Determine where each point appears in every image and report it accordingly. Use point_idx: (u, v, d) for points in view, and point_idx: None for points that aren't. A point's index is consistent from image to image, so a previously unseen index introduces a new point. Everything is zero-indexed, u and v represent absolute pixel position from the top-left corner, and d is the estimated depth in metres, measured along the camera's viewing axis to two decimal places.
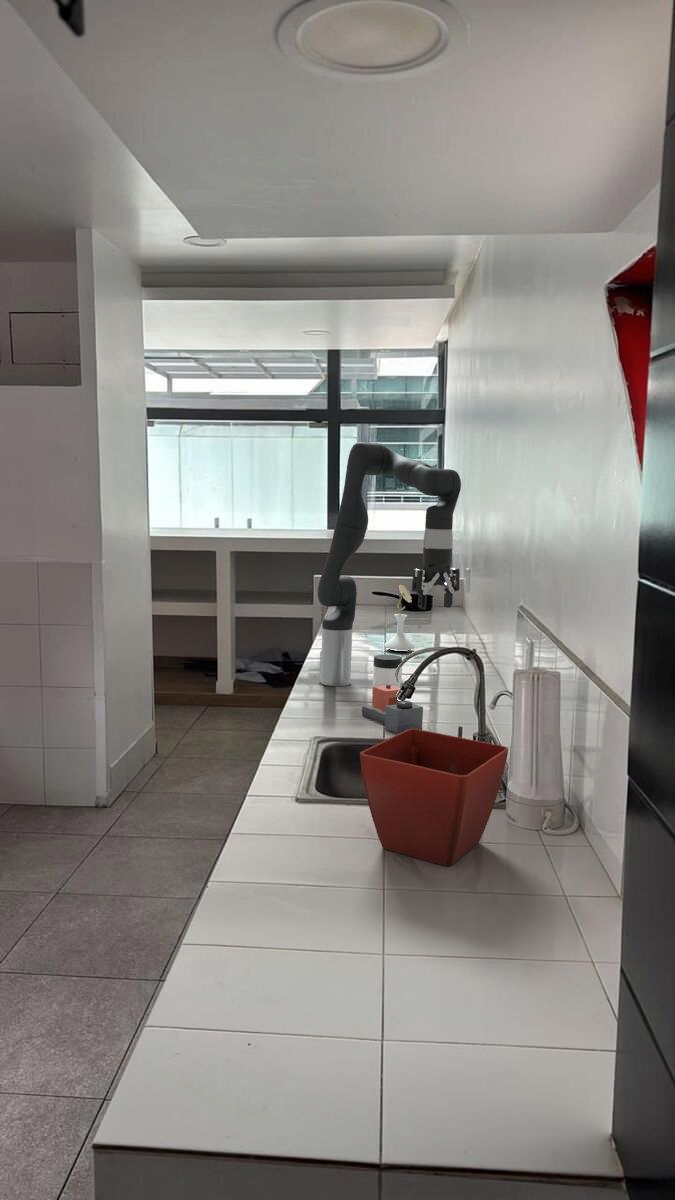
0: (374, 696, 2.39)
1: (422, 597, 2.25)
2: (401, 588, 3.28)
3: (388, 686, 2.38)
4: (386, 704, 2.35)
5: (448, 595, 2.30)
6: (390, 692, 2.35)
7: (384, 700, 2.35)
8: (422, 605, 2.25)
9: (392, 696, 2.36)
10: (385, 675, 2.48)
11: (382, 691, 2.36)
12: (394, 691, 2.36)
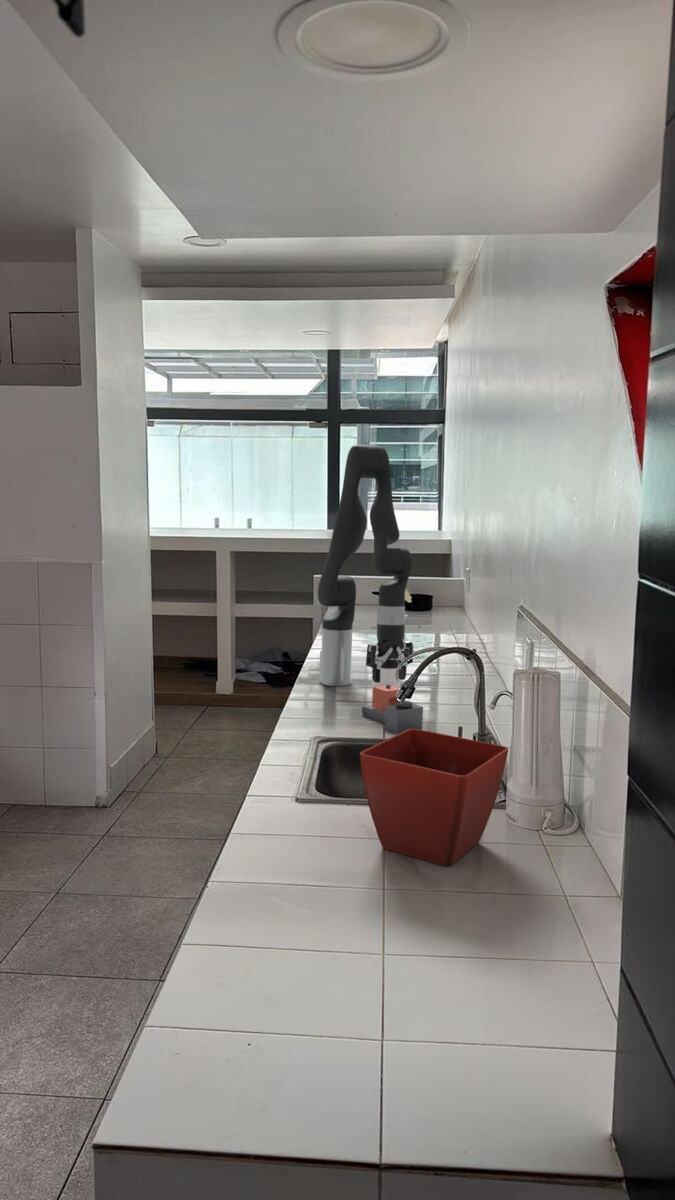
0: (374, 696, 2.39)
1: (376, 671, 2.34)
2: None
3: (388, 686, 2.38)
4: (386, 704, 2.35)
5: (402, 667, 2.39)
6: (390, 692, 2.35)
7: (384, 700, 2.35)
8: (376, 679, 2.35)
9: (392, 696, 2.36)
10: (385, 675, 2.48)
11: (382, 691, 2.36)
12: (394, 691, 2.36)
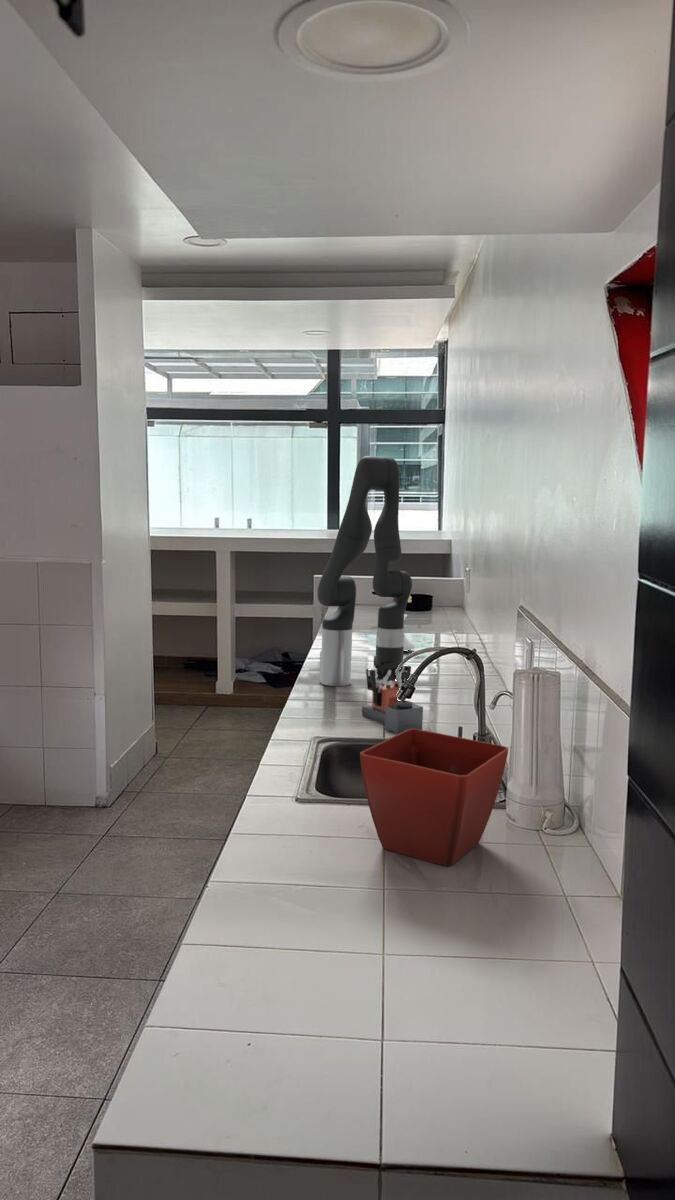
0: None
1: (377, 695, 2.36)
2: None
3: (388, 686, 2.38)
4: (386, 704, 2.35)
5: None
6: (390, 692, 2.35)
7: (384, 700, 2.35)
8: (377, 702, 2.36)
9: (392, 696, 2.36)
10: None
11: (382, 691, 2.36)
12: (394, 691, 2.36)
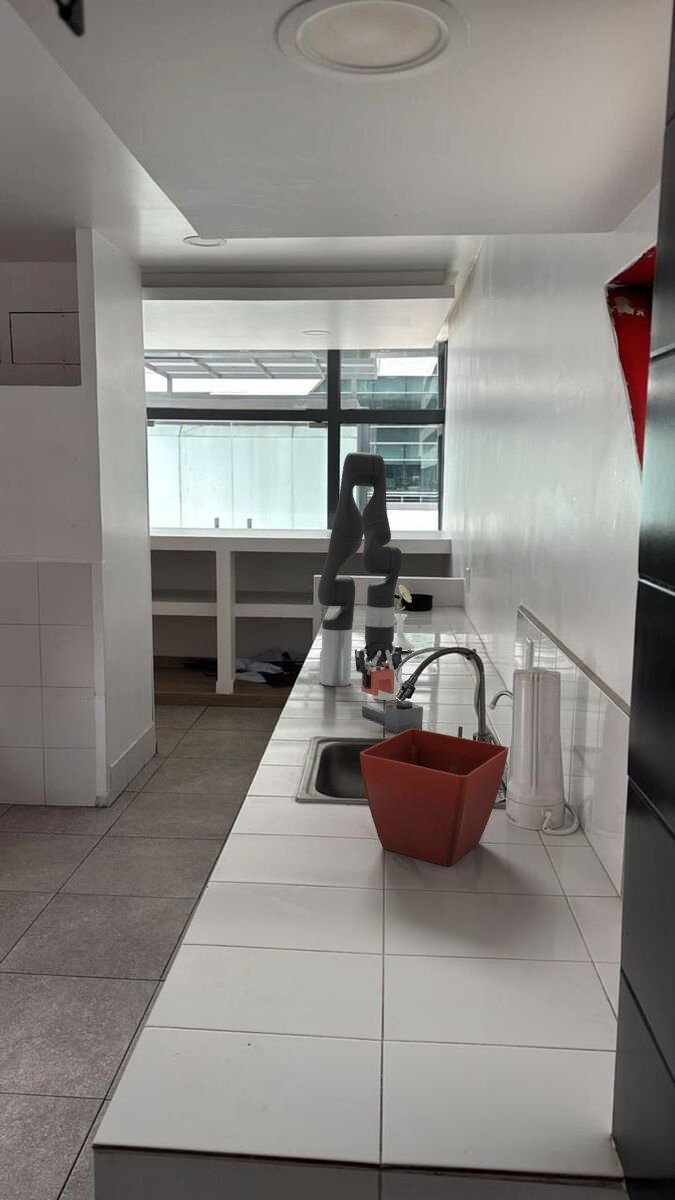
0: None
1: (366, 677, 2.24)
2: (401, 588, 3.28)
3: (378, 668, 2.26)
4: (376, 686, 2.23)
5: None
6: (380, 674, 2.24)
7: (374, 682, 2.23)
8: (366, 685, 2.25)
9: (382, 678, 2.24)
10: None
11: (372, 673, 2.24)
12: (384, 673, 2.24)
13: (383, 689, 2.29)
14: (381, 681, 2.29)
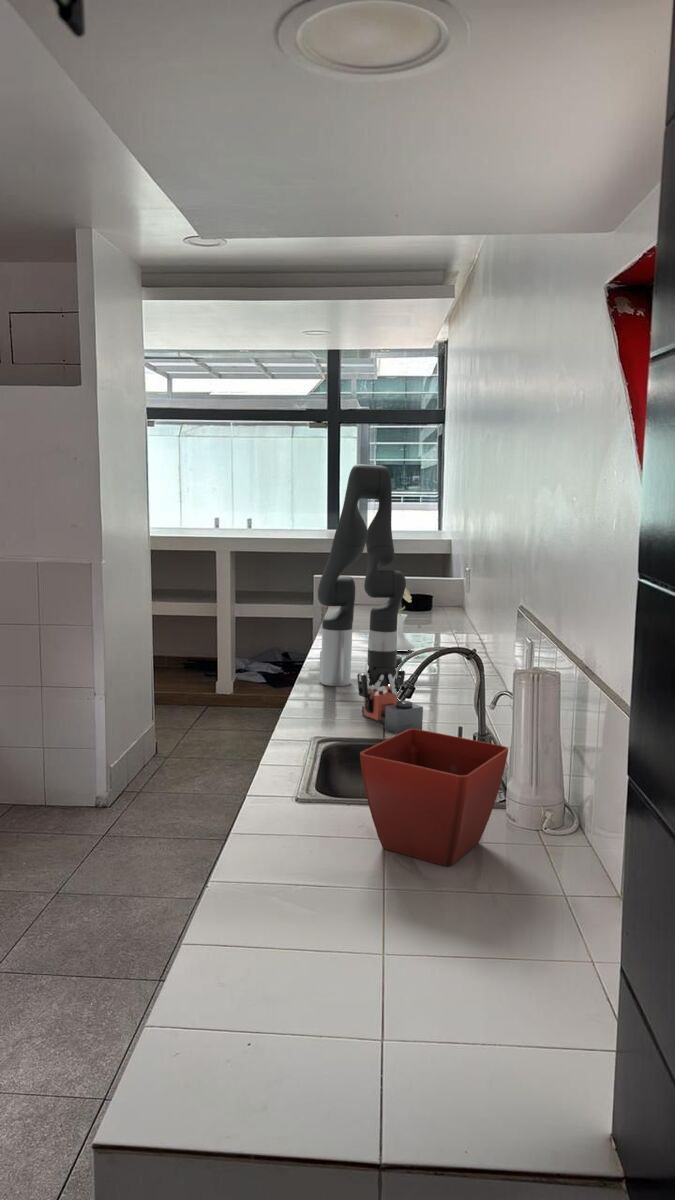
0: None
1: (369, 701, 2.24)
2: None
3: (381, 692, 2.26)
4: (379, 711, 2.23)
5: None
6: (383, 698, 2.23)
7: (377, 706, 2.23)
8: (369, 709, 2.24)
9: (385, 702, 2.23)
10: None
11: (374, 697, 2.23)
12: (387, 697, 2.24)
13: None
14: (384, 705, 2.29)
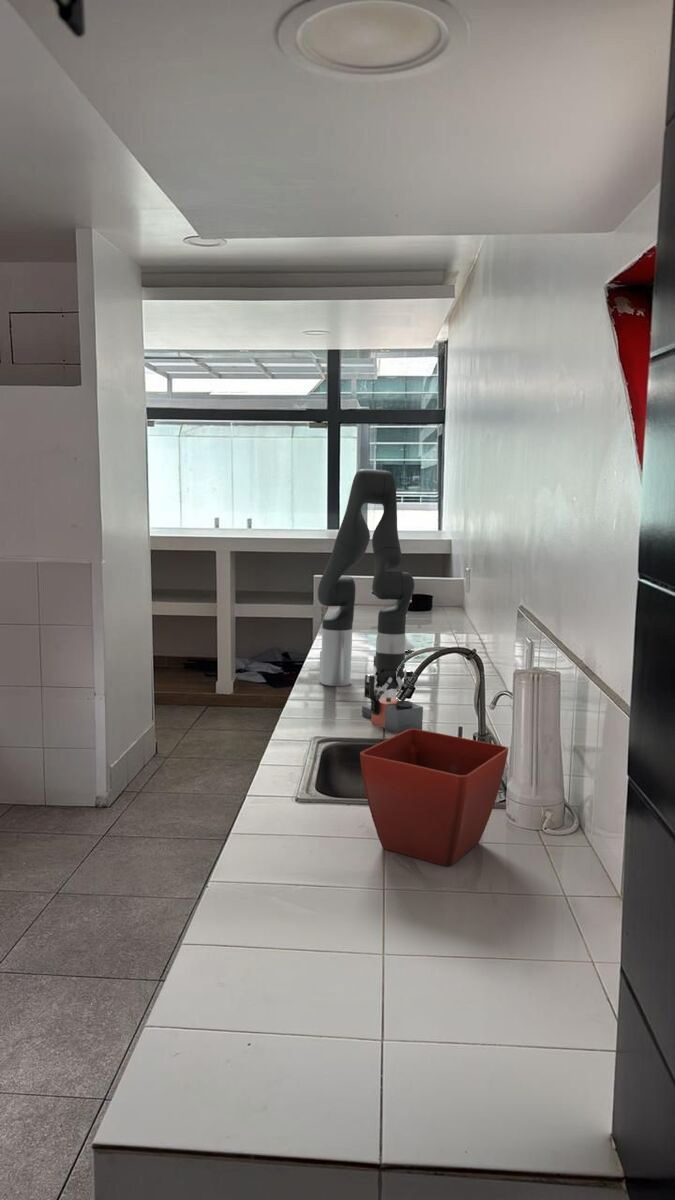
0: None
1: (375, 703, 2.20)
2: None
3: (388, 699, 2.23)
4: None
5: None
6: None
7: (384, 714, 2.20)
8: (375, 711, 2.21)
9: None
10: None
11: (382, 704, 2.21)
12: (395, 704, 2.21)
13: None
14: None
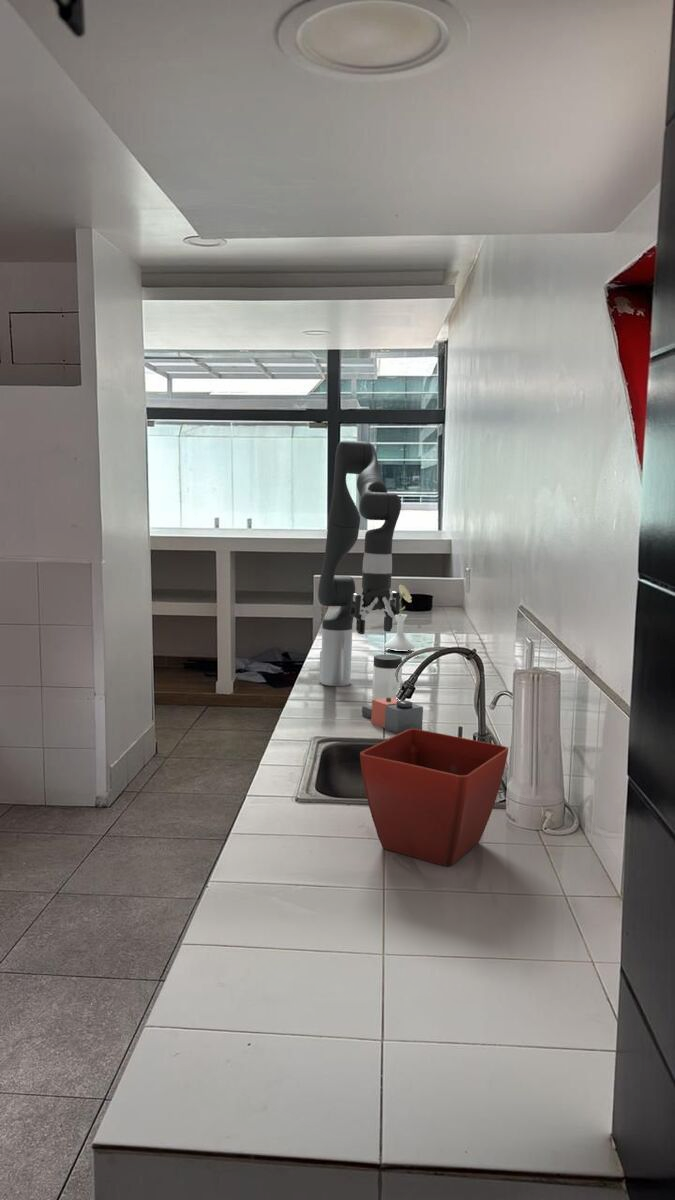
0: (373, 709, 2.24)
1: (360, 622, 2.23)
2: (401, 588, 3.28)
3: (388, 699, 2.23)
4: None
5: (388, 619, 2.28)
6: None
7: (384, 714, 2.20)
8: (360, 630, 2.23)
9: None
10: (385, 675, 2.48)
11: (382, 704, 2.21)
12: (395, 704, 2.21)
13: None
14: None
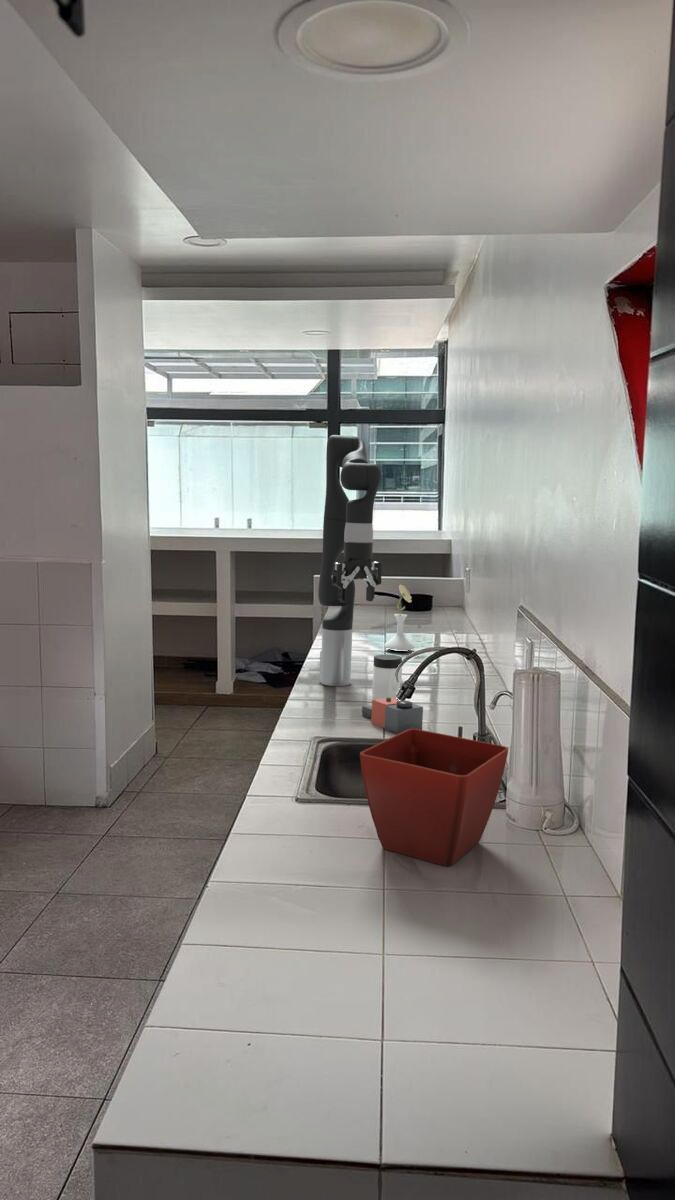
0: (373, 709, 2.24)
1: (342, 590, 2.27)
2: (401, 588, 3.28)
3: (388, 699, 2.23)
4: None
5: (370, 588, 2.31)
6: None
7: (384, 714, 2.20)
8: (342, 598, 2.27)
9: None
10: (385, 675, 2.48)
11: (382, 704, 2.21)
12: (395, 704, 2.21)
13: None
14: None
